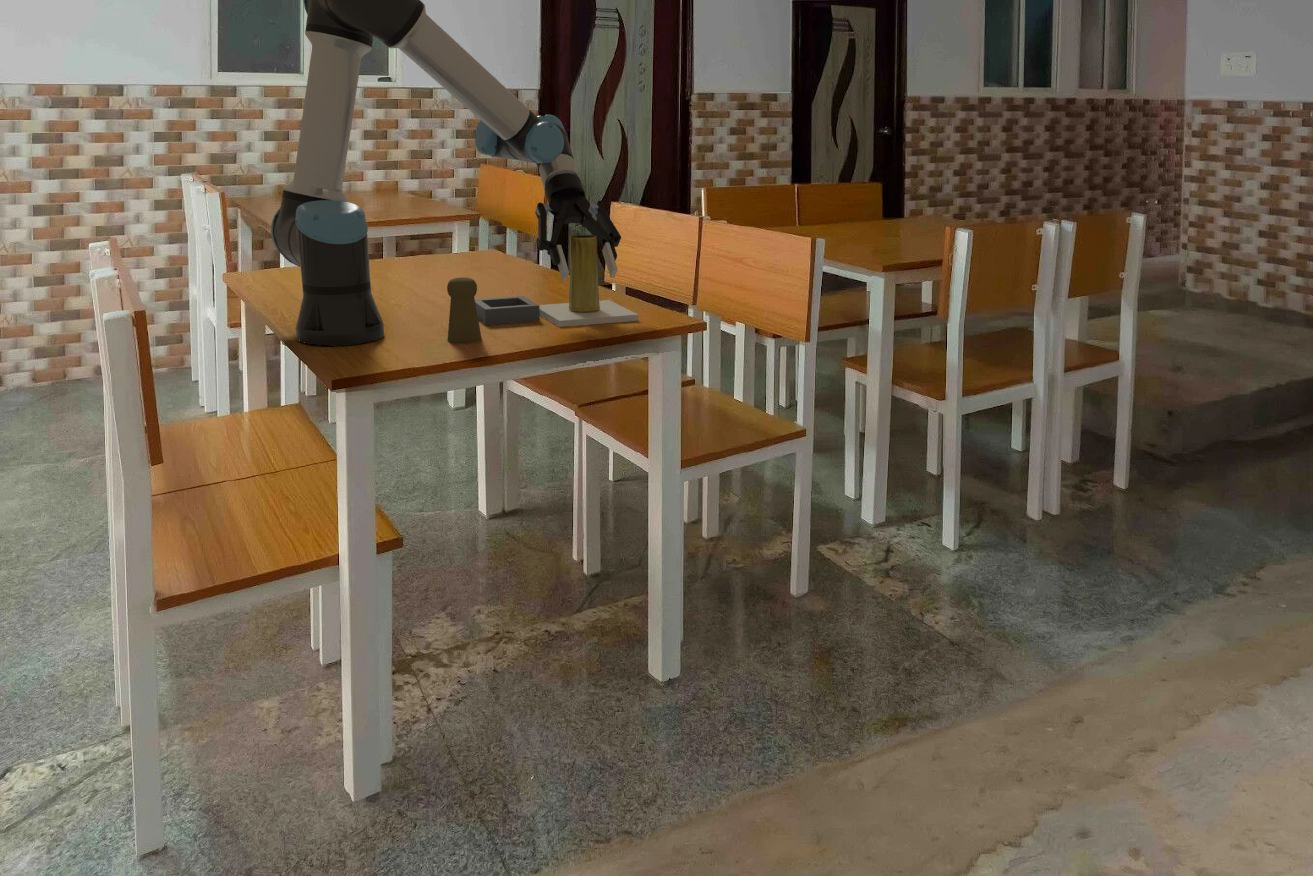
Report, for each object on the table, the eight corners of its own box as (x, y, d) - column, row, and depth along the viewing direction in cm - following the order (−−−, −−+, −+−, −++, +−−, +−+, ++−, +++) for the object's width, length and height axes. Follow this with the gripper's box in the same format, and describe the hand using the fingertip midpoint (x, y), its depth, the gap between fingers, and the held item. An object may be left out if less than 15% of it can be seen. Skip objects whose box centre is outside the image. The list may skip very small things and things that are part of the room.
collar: (485, 325, 209) (485, 309, 208) (472, 314, 218) (471, 299, 217) (539, 320, 213) (539, 305, 212) (523, 310, 222) (523, 295, 221)
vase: (563, 311, 216) (561, 237, 212) (577, 305, 221) (575, 233, 217) (591, 313, 214) (590, 238, 209) (605, 308, 219) (604, 235, 215)
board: (559, 326, 208) (559, 320, 207) (534, 311, 222) (533, 305, 221) (638, 320, 214) (638, 314, 213) (608, 305, 228) (608, 299, 227)
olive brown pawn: (466, 334, 201) (463, 274, 198) (488, 339, 198) (486, 277, 194) (440, 340, 197) (436, 278, 193) (463, 345, 193) (460, 282, 190)
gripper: (608, 194, 229) (637, 283, 220) (505, 197, 220) (531, 290, 211) (617, 169, 222) (648, 260, 213) (512, 172, 214) (539, 266, 205)
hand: (590, 275), depth 212 cm, fingers open, 9 cm apart
